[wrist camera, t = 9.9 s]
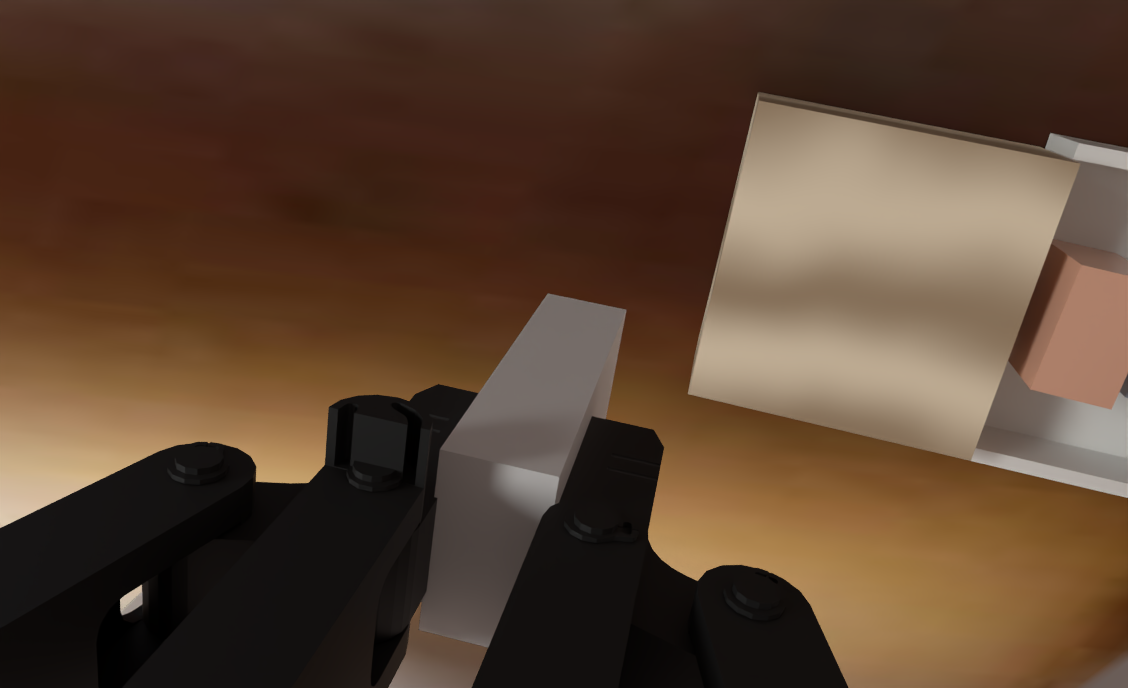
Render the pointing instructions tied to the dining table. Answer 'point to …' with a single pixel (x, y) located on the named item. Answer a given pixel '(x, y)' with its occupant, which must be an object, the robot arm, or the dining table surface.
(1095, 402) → the terracotta tile
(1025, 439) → the box
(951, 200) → the cream square tray
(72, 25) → the dining table surface
